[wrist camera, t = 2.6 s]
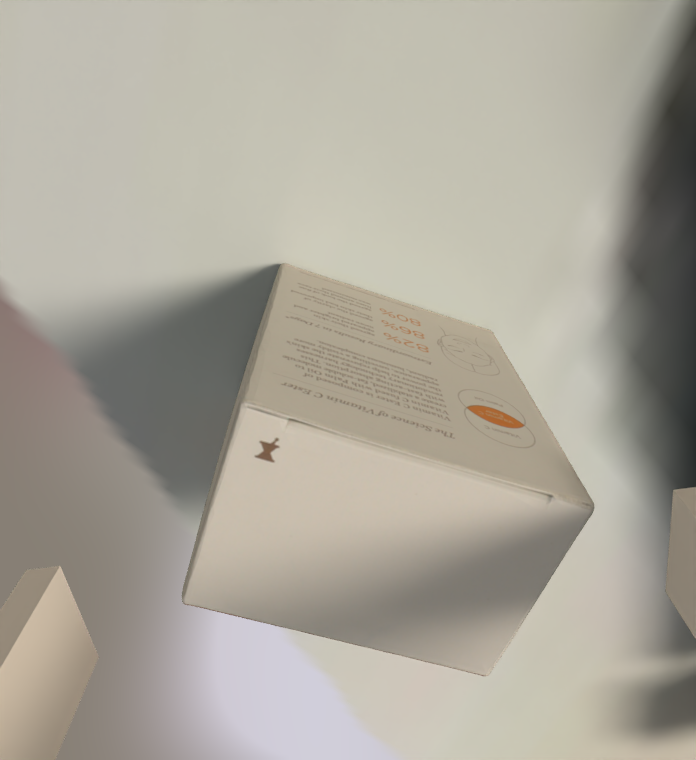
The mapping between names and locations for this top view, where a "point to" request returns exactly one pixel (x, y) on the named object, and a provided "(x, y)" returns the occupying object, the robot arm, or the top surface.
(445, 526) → the small box
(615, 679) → the top surface
